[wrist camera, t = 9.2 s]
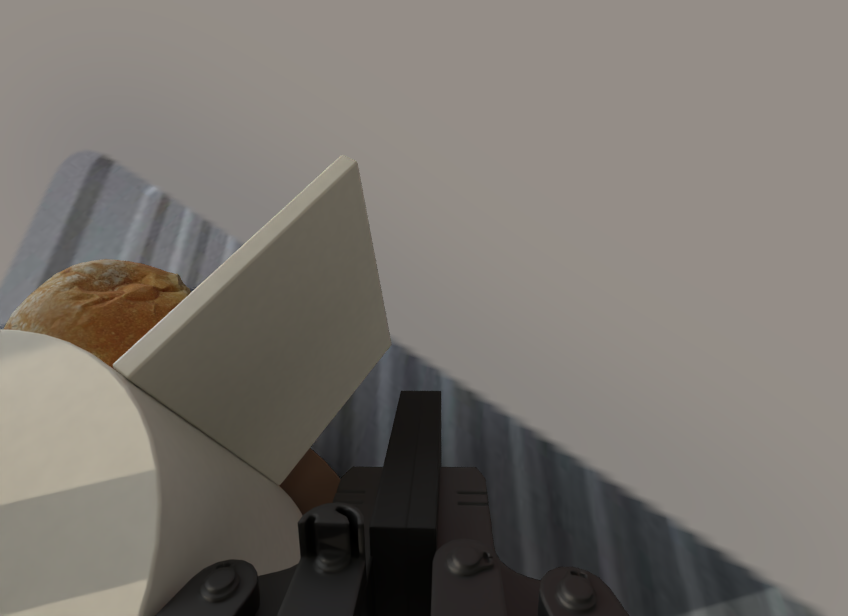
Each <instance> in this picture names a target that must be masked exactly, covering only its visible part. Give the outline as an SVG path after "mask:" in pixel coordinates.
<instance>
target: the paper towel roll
mask: <svg viewBox="0 0 848 616" xmlns="http://www.w3.org/2000/svg"><path fill="white" fill-rule="evenodd" d="M390 346H391V339H390V333H389V328H388V323H387V318H386V312H385V307H384V302H383V297H382V291H381V285H380V281H379V275H378V269H377V264H376V259H375V253H374V249H373V243H372V238H371V232H370V228H369V222H368V216H367V211H366V205H365V200H364V195H363V189H362V185H361V179H360V173H359V168H358V163H357V162H356V161H355V160H353V159H350V158H348V157H346V156H344V155H341V156H340V157H339V158H338V159H337V160H336V161H335V162H333V163H332V164H331V165H330V166H329V167H328V168H327V169H326V170H325V171H324V172H322V173H321V174H320V175H319V176H318V177H317V178H316V179H315V180H314V181H313V182H312V183H310V184H309V185H308V186H307V187H306V188H305V189H304V190H303V191H302V192H301V193H300V194H299V195H297V196H296V197H295V198H294V199H293V200H292V201H291V202H290V203H289V204H287V206H285V207H284V208H283V209H282V210H281V211H280V212H279V213H278V214H277V215H275V216H274V217H273V218H272V219H271V220H270V221H269V222H268V223H267V224H266V225H265V226H263V227H262V228H261V229H260V230H259V231H258V232H257V233H256V234H255V235H254V236H253V237H252V238H250V239H249V240H248V241H247V242H246V243H245V244H244V245H243V246H242V247H240V248H239V249H238V250H237V251H236V252H235V253H234V254H233V255H232V256H231V257H230V258H228V259H227V260H226V261H225V262H224V263H223V264H222V265H221V266H220V267H219V268H218V269H216V270H215V271H214V272H213V273H212V274H211V275H210V276H209V277H208V278H207V279H205V280H204V281H203V282H202V283H201V284H200V285H199V286H198V287H197V288H196V289H195V290H193V291H192V292H191V293H190V294H189V295H188V296H187V297H186V298H185V299H184V300H183V301H181V302H180V303H179V304H178V305H177V306H176V307H175V308H174V309H173V310H172V311H170V312H169V313H168V314H167V315H166V316H165V317H164V318H163V319H162V320H161V321H160V322H158V323H157V324H156V325H155V326H154V327H153V328H152V329H151V330H150V331H149V332H148V333H146V334H145V335H144V336H143V337H142V338H141V339H140V340H139V341H138V342H137V343H135V344H134V345H133V346H132V347H131V348H130V349H129V350H128V351H127V352H126V353H125V354H123V355H122V356H121V357H120V358H119V359H118V360H117V361H116V362H115V363H114V364H113V368H114V369H115V370H114V369H113V368H111V367H110V366H109V365H107V364H106V363H104V362H103V361H102V360H100V359H99V358H97V357H96V356H94V355H93V354H92V353H90V352H88V351H86V350H84V349H82V348H80V347H78V346H76V345H74V344H72V343H70V342H67V341H64V340H61V339H58V338H54V337H51V336H48V335H45V334H39V333H33V332H26V331H20V330H2V329H0V616H155V615H156V614H157V613H158V612H159V611H160V610H161V609H162V608H163V607H164V606H165V605H166V604H167V603H168V602H169V601H170V600H171V599H172V598H173V597H174V596H175V595H176V594H177V593H178V592H179V591H180V590H181V589H182V588H183V586H184V585H185V584H186V583H187V582H188V581H189V580H190V579H191V578H192V577H194V576H195V575H196V574H197V573H199V572H200V571H201V570H203V569H204V568H206V567H208V566H210V565H212V564H214V563H217V562H220V561H225V560H230V559H235V560H244V561H246V562H248V563H250V564H252V565H253V566H254V568H255V569H256V571H257V574H258V576H260V575H264V574H269V573H273V572H278V571H281V570H284V569H287V568H290V567H292V566H294V565H296V564H298V563H299V561H300V558H301V556H300V545H299V533H298V521H299V520H300V519H301V517H302V514H301V512H300V510H299V508H298V507H297V506H296V504H295V503H294V501H293V500H292V499H291V497H290V496H289V495H288V494H287V493H286V492H285V491H284V490H283V489H282V488H281V487H280V486H278V485H281V483H282V482H283V481H284V480H285V478H286V477H287V476H288V475H289V473H290V472H291V471H292V470H293V468H294V467H295V466H296V465H297V463H298V462H299V461H300V460H301V458H302V457H303V456H304V454H305V453H306V452H307V451H308V449H309V448H310V447H311V446H312V444H313V443H314V442H315V441H316V439H317V438H318V437H319V436H320V434H321V433H322V432H323V431H324V429H325V428H326V427H327V425H328V424H329V423H330V422H331V420H332V419H333V418H334V417H335V415H336V414H337V413H338V412H339V410H340V409H341V408H342V407H343V405H344V404H345V403H346V401H347V400H348V399H349V398H350V396H351V395H352V394H353V393H354V391H355V390H356V389H357V388H358V386H359V385H360V384H361V383H362V381H363V380H364V379H365V378H366V376H367V375H368V374H369V372H370V371H371V370H372V369H373V367H374V366H375V365H376V364H377V362H378V361H379V360H380V359H381V357H382V356H383V355H384V354H385V352H386V351H387V350H388V349H389V347H390ZM117 371H118V372H117Z"/></svg>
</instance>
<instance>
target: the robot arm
mask: <svg viewBox="0 0 848 616" xmlns="http://www.w3.org/2000/svg"><path fill="white" fill-rule="evenodd" d="M298 533H299V545H300V556H301V558H300V561H299V563H298V564H296V565H294V566H292V567H290V568H287V569H284V570H281V571H278V572H273V573H269V574H264V575H260V576H258V574H257V571H256V569H255V568H254V566H253V565H252V564H250V563H248V562H246V561H244V560H235V559H230V560H225V561H220V562H217V563H214V564H212V565H210V566H208V567H206V568H204V569H203V570H201V571H200V572H199V573H197V574H196V575H195V576H194V577H192V578H191V579H190V580H189V581H188V582H187V583H186V584H185V585H184V586H183V588H182V589H181V590H180V591H179V592H178V593H177V594H176V595H175V596H174V597H173V598H172V599H171V600H170V601H169V602H168V603H167V604H166V605H165V606H164V607H163V608H162V609H161V610H160V611H159V612H158V613H157V614H156V615H155V616H629V614H628V613H627V612H626V610H625V609H624V607H623V606H622V605H621V603H620V602H619V600H618V599H617V598H616V596H615V595H614V593H613V592H612V591H611V589H610V588H609V587H608V586H607V585H606V584H605V583H604V582H603V581H602V580H601V579H600V578H599V577H597V576H595V575H594V574H592V573H590V572H588V571H586V570H583V569H579V568H575V567H558V568H556V569H553V570H550V571H548V572H547V573H546V574H545V575H544V577H543V578H542V579H541V581H540V580H536V579H533V578H530V577H526V576H524V575H521V574H519V573H516V572H515V571H513V570H511V569H510V568H508V567H507V566H506V565H505V564H504V563H503V562H502V561H501V560H500V559H499V557H498V556H497V554H496V551H495V548H494V542H493V534H492V527H491V519H490V511H489V505H488V495H487V487H486V480H485V478H484V476H483V475H482V474H481V473H480V471H479V470H478V469H477V468H476V467H441V391H401V394H400V398H399V402H398V406H397V411H396V415H395V419H394V423H393V427H392V432H391V436H390V440H389V444H388V449H387V453H386V457H385V461H384V466H383V467H352V468H351V469H350V470H349V471H348V472H347V473H346V474H345V475H344V476H343V477H341V480H340V483H339V485H338V488H337V492H336V493H335V496H334V499H333V503H326V504H323V505H320V506H317V507H314V508H312V509H311V510H309V511H308V512H306V513H305V514H304V515H303V516H302V517H301V519H300V520H299V521H298Z"/></svg>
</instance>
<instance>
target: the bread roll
mask: <svg viewBox="0 0 848 616" xmlns="http://www.w3.org/2000/svg"><path fill="white" fill-rule="evenodd" d="M190 293H191V291H190V289H189V288H187V286H186V285H185V284H184V283H183V282H182V280H181V278H180V276H179V275H178V274H174V273H170V272H166V271H163V270H161V269H158V268H155V267H151V266H148V265H145V264H141V263H135V262H130V261H120V260H110V259H104V260H96V261H90V262H84V263H80V264H77V265H73V266H71V267H69V268H67V269H65V270H63V271H61V272H59V273H57V274H55V275H54V276H52V277H51V278H50V279H48V280H47V281H46V282H45V283H44V284H43V285H41V286H40V287H38V289H37V290H35V291H34V292H33V293H32V294H31V295H29V296H28V297H27V298H26V299H25V301H24V302H23V303H22V304H21V305H20V306H19V307H18V308H17V309H16V310H15V311H14V312H13V313H12V315H11V316H10V318H9V320H8V322H7V323H6V325H5V327H4V329H3V330H20V331H26V332H33V333H39V334H45V335H48V336H51V337H54V338H58V339H61V340H64V341H67V342H70V343H72V344H74V345H76V346H78V347H80V348H82V349H84V350H86V351H88V352H90V353H92V354H93V355H94V356H96V357H97V358H99V359H100V360H102V361H103V362H104V363H106V364H107V365H109V366H110V367H111V368H113V364H114V363H115V362H116V361H117V360H118V359H119V358H120V357H121V356H122V355H123V354H125V353H126V352H127V351H128V350H129V349H130V348H131V347H132V346H133V345H134V344H135V343H137V342H138V341H139V340H140V339H141V338H142V337H143V336H144V335H145V334H146V333H148V332H149V331H150V330H151V329H152V328H153V327H154V326H155V325H156V324H157V323H158V322H160V321H161V320H162V319H163V318H164V317H165V316H166V315H167V314H168V313H169V312H170V311H172V310H173V309H174V308H175V307H176V306H177V305H178V304H179V303H180V302H181V301H183V300H184V299H185V298H186V297H187V296H188V295H189V294H190ZM113 369H114V368H113ZM114 370H115V369H114ZM117 372H118V371H117Z"/></svg>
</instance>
